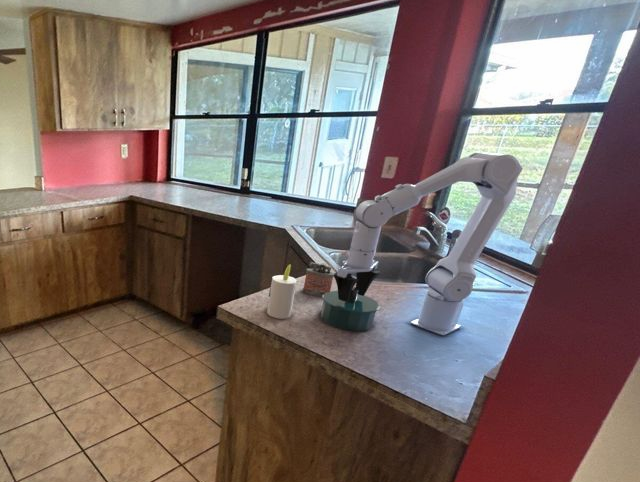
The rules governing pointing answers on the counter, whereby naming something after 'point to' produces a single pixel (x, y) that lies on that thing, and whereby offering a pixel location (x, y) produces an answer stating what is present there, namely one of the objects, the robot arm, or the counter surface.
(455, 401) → the counter surface
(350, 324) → the pot
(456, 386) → the counter surface
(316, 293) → the brick planter box
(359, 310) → the cover
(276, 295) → the candle
